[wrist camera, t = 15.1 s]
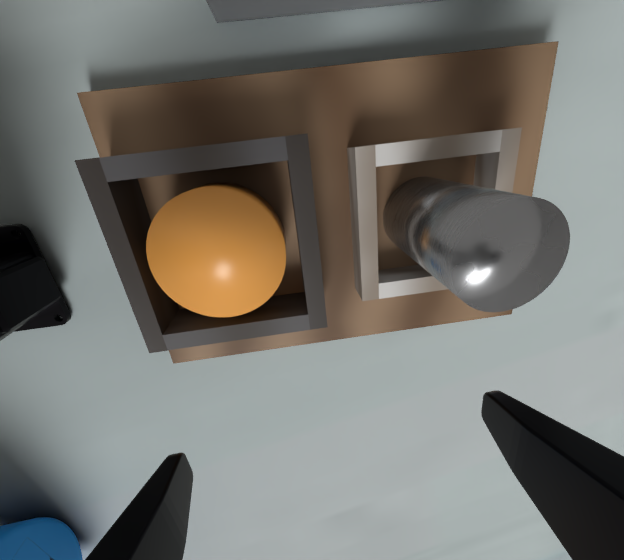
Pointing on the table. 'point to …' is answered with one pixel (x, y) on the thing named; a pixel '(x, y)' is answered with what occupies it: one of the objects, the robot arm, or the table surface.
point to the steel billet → (479, 240)
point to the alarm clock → (38, 541)
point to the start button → (217, 250)
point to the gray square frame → (289, 7)
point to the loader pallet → (314, 182)
